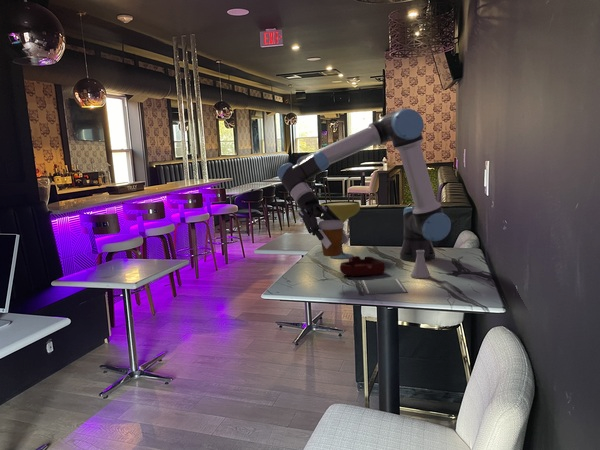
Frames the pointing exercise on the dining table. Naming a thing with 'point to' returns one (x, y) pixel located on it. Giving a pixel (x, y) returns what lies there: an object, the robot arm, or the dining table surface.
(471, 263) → the dining table surface
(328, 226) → the disposable coffee cup
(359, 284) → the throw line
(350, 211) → the cocktail glass
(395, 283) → the mat
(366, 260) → the ashtray
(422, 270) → the flask
